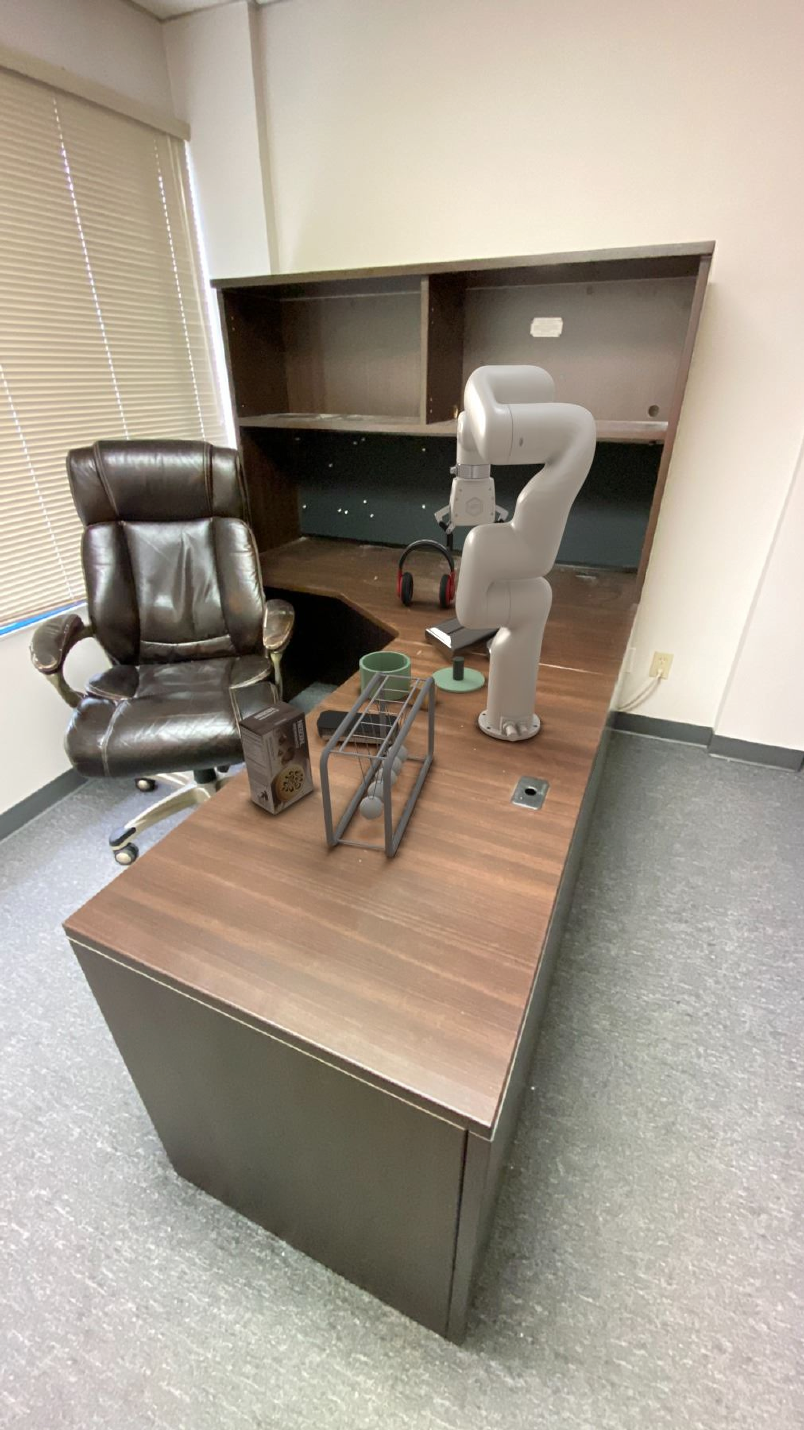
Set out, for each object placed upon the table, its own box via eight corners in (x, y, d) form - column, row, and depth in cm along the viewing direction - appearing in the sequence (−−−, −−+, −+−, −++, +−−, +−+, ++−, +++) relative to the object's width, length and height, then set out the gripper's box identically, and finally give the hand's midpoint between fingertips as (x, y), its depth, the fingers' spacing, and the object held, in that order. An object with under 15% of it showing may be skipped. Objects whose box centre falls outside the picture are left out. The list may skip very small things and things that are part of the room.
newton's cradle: (391, 863, 91) (389, 766, 82) (326, 852, 93) (316, 755, 85) (434, 755, 116) (435, 672, 107) (382, 748, 118) (379, 666, 110)
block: (436, 703, 134) (437, 683, 132) (426, 711, 131) (426, 690, 129) (420, 698, 136) (420, 678, 134) (409, 706, 133) (409, 685, 131)
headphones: (455, 601, 192) (458, 537, 182) (451, 612, 184) (453, 545, 174) (401, 598, 195) (400, 535, 185) (395, 608, 187) (393, 543, 177)
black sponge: (314, 743, 120) (312, 727, 119) (325, 721, 128) (324, 706, 126) (395, 750, 118) (395, 734, 116) (402, 727, 125) (402, 712, 123)
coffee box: (290, 776, 111) (280, 699, 103) (314, 790, 107) (306, 710, 99) (250, 801, 105) (236, 720, 97) (274, 816, 101) (262, 733, 93)
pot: (412, 702, 135) (412, 671, 131) (360, 703, 134) (359, 673, 131) (409, 679, 145) (409, 650, 141) (361, 680, 144) (359, 651, 140)
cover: (488, 694, 138) (490, 669, 134) (434, 696, 137) (434, 671, 134) (479, 670, 148) (481, 647, 145) (429, 672, 148) (429, 648, 145)
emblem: (433, 603, 175) (532, 609, 170) (433, 621, 177) (530, 627, 172) (415, 641, 151) (529, 649, 146) (415, 660, 154) (527, 669, 149)
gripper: (438, 475, 132) (436, 554, 140) (515, 473, 134) (509, 551, 142) (432, 470, 138) (431, 546, 147) (506, 468, 140) (501, 543, 148)
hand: (469, 548), depth 144 cm, fingers open, 9 cm apart
